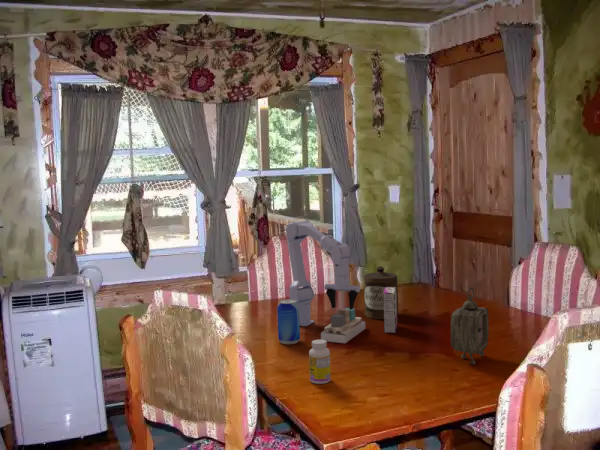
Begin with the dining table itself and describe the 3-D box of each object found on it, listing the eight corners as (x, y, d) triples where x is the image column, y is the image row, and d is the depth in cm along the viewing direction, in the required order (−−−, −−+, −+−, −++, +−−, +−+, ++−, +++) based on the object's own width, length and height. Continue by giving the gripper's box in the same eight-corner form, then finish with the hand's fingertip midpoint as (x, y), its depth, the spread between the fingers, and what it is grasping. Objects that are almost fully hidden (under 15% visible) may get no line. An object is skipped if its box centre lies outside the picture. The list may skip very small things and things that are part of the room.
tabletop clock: (476, 367, 206) (476, 292, 203) (449, 363, 211) (449, 290, 208) (488, 355, 218) (488, 284, 215) (463, 351, 223) (462, 282, 220)
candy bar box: (385, 325, 261) (384, 287, 259) (397, 326, 260) (396, 287, 258) (383, 333, 250) (382, 292, 248) (396, 333, 249) (395, 292, 247)
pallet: (324, 332, 242) (324, 314, 241) (343, 320, 259) (342, 304, 258) (343, 334, 239) (343, 316, 238) (361, 322, 256) (361, 305, 255)
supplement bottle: (308, 378, 201) (307, 339, 199) (329, 376, 201) (328, 337, 200) (310, 385, 194) (309, 345, 193) (332, 384, 195) (331, 343, 193)
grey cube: (331, 326, 243) (331, 316, 243) (335, 323, 247) (335, 314, 246) (340, 327, 241) (340, 317, 241) (344, 324, 245) (344, 314, 244)
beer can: (303, 339, 244) (301, 299, 243) (295, 345, 236) (294, 304, 235) (282, 338, 247) (281, 298, 245) (275, 344, 239) (273, 303, 238)
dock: (321, 340, 242) (320, 332, 241) (342, 326, 261) (342, 319, 261) (345, 343, 237) (344, 335, 237) (365, 328, 257) (365, 321, 257)
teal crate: (342, 319, 253) (342, 310, 252) (346, 317, 256) (345, 307, 256) (351, 320, 251) (351, 310, 251) (355, 318, 255) (355, 308, 254)
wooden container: (360, 318, 274) (359, 268, 272) (369, 310, 288) (369, 263, 286) (393, 320, 269) (393, 270, 266) (401, 312, 282) (401, 264, 280)
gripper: (320, 275, 248) (321, 309, 249) (355, 277, 241) (355, 312, 243) (328, 272, 254) (328, 305, 256) (361, 274, 248) (362, 308, 249)
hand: (342, 308), depth 250 cm, fingers open, 7 cm apart
